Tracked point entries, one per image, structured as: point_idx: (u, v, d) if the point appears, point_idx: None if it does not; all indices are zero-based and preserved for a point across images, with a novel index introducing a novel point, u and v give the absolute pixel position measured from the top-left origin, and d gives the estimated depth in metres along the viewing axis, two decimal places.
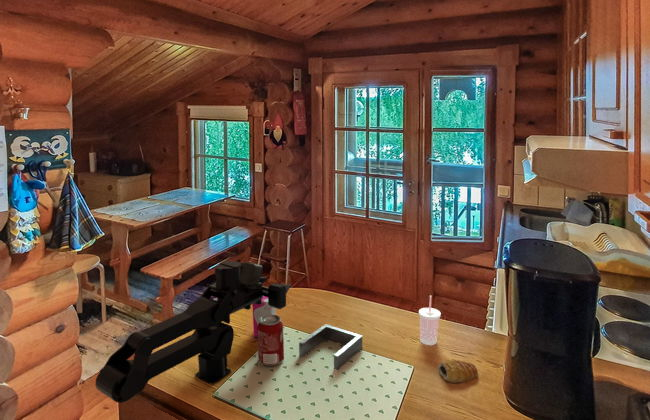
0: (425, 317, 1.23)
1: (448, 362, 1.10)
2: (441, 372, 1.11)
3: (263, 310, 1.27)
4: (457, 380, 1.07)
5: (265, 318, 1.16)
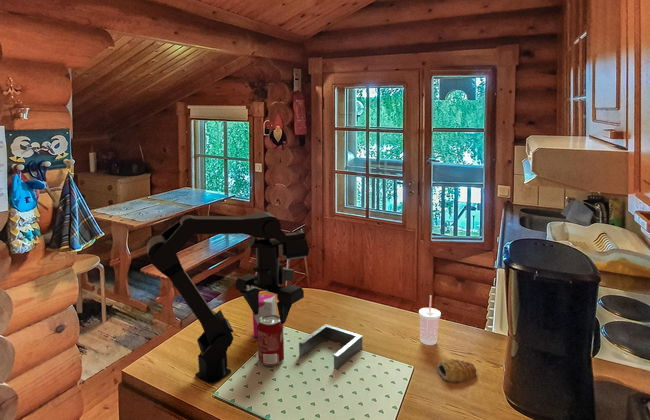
0: (425, 317, 1.23)
1: (447, 362, 1.11)
2: (440, 372, 1.11)
3: (263, 310, 1.27)
4: (456, 379, 1.07)
5: (265, 318, 1.16)
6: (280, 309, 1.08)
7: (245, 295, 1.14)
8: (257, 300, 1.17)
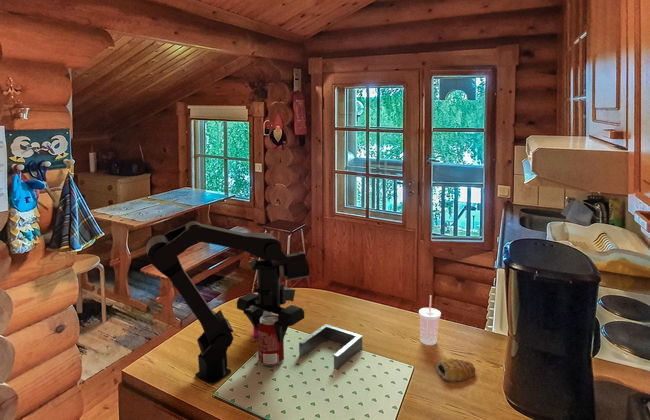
0: (425, 317, 1.23)
1: (446, 361, 1.11)
2: (439, 371, 1.11)
3: None
4: (456, 379, 1.07)
5: (265, 318, 1.16)
6: (278, 328, 1.10)
7: (249, 316, 1.15)
8: None
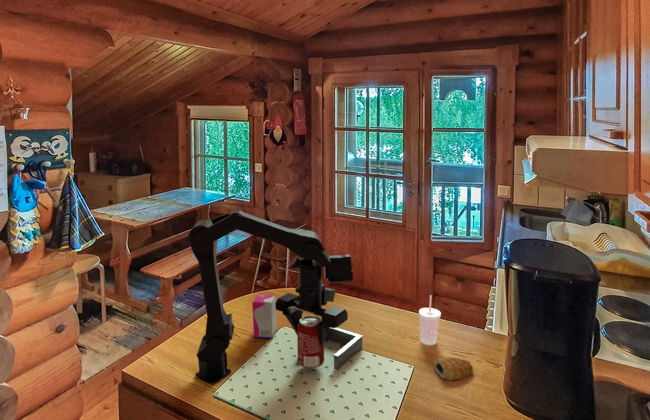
0: (425, 317, 1.23)
1: (444, 360, 1.11)
2: (437, 370, 1.12)
3: (263, 310, 1.27)
4: (454, 377, 1.08)
5: (305, 319, 1.12)
6: (320, 330, 1.06)
7: (289, 317, 1.11)
8: None
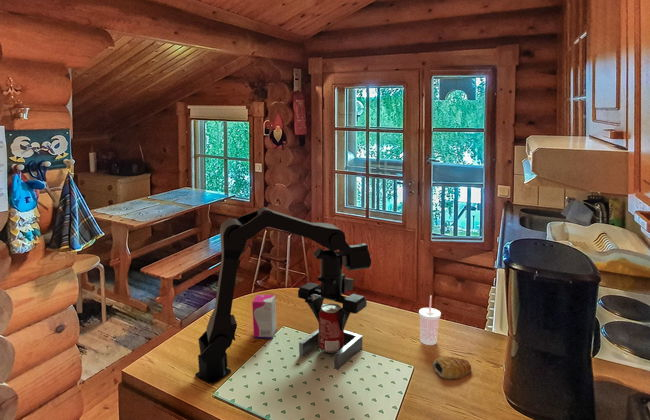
0: (425, 317, 1.23)
1: (443, 359, 1.12)
2: (436, 369, 1.12)
3: (263, 310, 1.27)
4: (453, 376, 1.08)
5: (326, 306, 1.20)
6: (341, 316, 1.14)
7: (311, 305, 1.18)
8: None
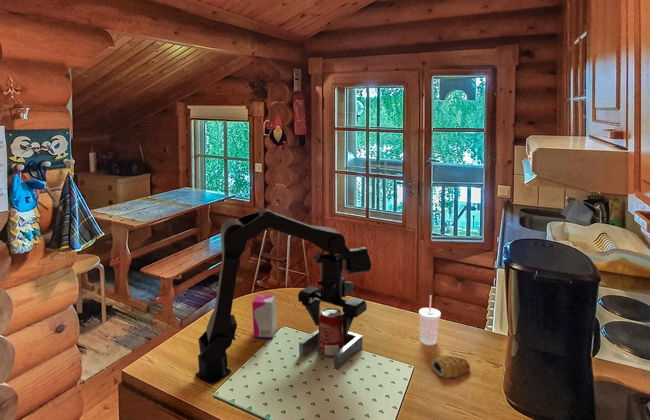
0: (425, 317, 1.23)
1: (441, 358, 1.12)
2: (435, 369, 1.12)
3: (263, 310, 1.27)
4: (452, 376, 1.09)
5: (326, 311, 1.20)
6: (345, 321, 1.14)
7: (308, 307, 1.19)
8: (318, 312, 1.22)
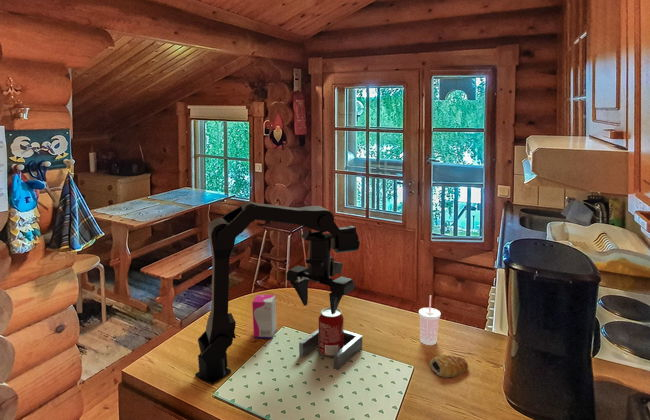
0: (425, 317, 1.23)
1: (440, 358, 1.12)
2: (433, 368, 1.12)
3: (263, 310, 1.27)
4: (450, 375, 1.09)
5: (326, 311, 1.20)
6: (332, 300, 1.13)
7: (296, 286, 1.18)
8: (307, 292, 1.21)
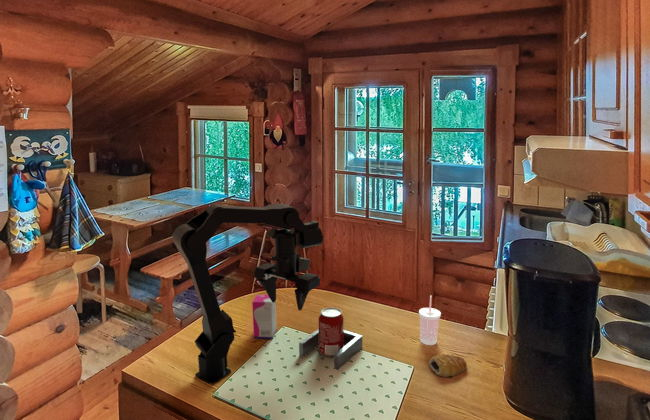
0: (425, 317, 1.23)
1: (439, 357, 1.13)
2: (432, 367, 1.13)
3: (263, 310, 1.27)
4: (449, 374, 1.09)
5: (326, 311, 1.20)
6: (298, 296, 1.14)
7: (263, 283, 1.20)
8: (275, 288, 1.22)
